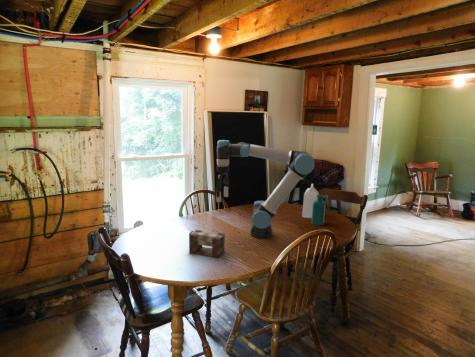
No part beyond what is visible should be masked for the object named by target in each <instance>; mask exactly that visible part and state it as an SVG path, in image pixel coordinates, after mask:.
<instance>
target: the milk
mask: <svg viewBox="0 0 475 357" xmlns="http://www.w3.org/2000/svg"><path fill="white" fill-rule="evenodd" d="M316 195H320V194H319V191H318V190H317V189H316V188H315V187H314V183H311V184H310V187H307V189H306V190H305V192H304V194H303V204H302V211H301V212H302V213H301V217H302V218H307V219H312V210H313V203H314V201H316V200H317V196H316Z"/></svg>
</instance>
